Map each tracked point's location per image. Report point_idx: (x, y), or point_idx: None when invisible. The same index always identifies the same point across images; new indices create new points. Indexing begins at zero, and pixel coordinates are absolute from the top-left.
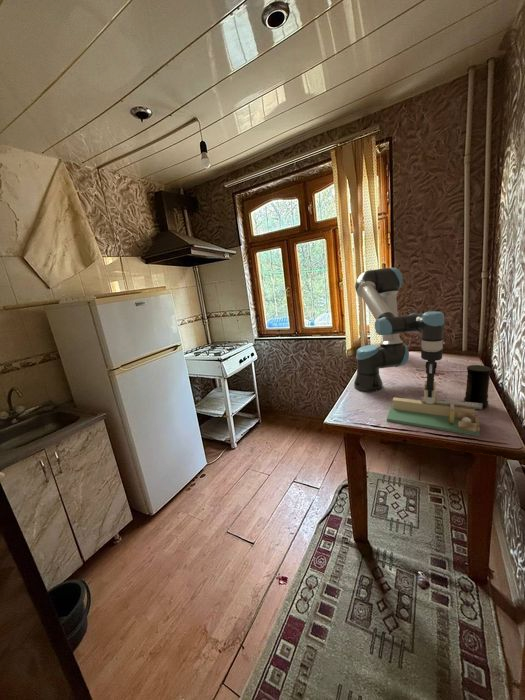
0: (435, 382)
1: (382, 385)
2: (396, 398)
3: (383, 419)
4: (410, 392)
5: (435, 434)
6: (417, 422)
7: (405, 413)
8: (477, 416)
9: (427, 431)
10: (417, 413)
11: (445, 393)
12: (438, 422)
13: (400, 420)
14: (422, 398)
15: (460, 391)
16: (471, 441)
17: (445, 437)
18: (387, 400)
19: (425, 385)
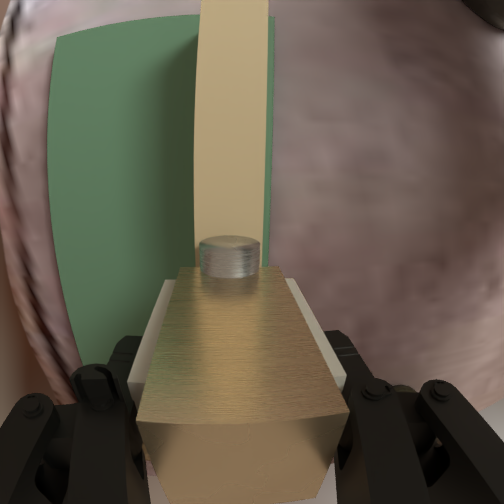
0: (290, 499)
1: (498, 21)
2: (248, 15)
3: (79, 21)
4: (488, 154)
5: (30, 291)
6: (59, 207)
7: (151, 116)
8: None
9: (35, 257)
10: (179, 193)
11: (480, 312)
12: (111, 314)
13: (50, 110)
14: (206, 259)
15: (484, 354)
16: (62, 396)
17: (32, 325)
18: (361, 8)
19: (144, 415)
